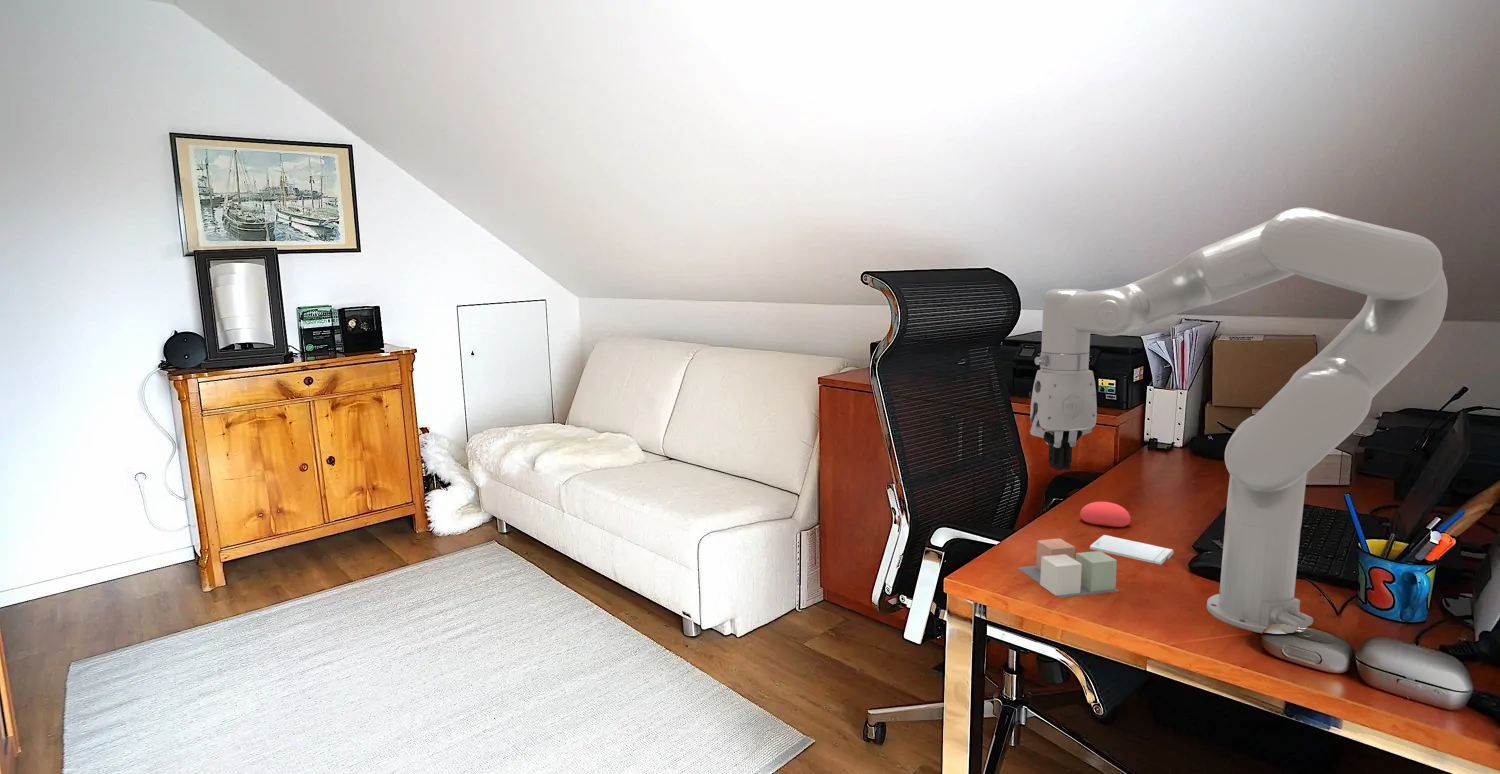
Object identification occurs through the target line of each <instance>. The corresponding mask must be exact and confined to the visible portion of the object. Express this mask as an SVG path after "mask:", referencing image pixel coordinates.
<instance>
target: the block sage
mask: <svg viewBox="0 0 1500 774" xmlns="http://www.w3.org/2000/svg"><path fill="white" fill-rule="evenodd" d="M1075 560H1076V561H1078V562H1079V563H1081V564H1082V570H1081V586H1083V587H1084V588H1086V589H1088V590H1089V591H1091V592H1094V591H1103V590H1112V589H1115V588H1116V586H1117V585H1116V583H1117V569H1118V568H1117V566H1118V560H1117V559H1115V558H1113V557H1111V556H1110V555H1108V554H1106V552H1101V551H1097V550H1092V551H1086V552H1075Z"/></svg>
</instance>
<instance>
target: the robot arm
mask: <svg viewBox="0 0 1500 774" xmlns="http://www.w3.org/2000/svg"><path fill="white" fill-rule="evenodd" d="M1443 265H1444V264H1443V256H1442V254H1441V251H1440V250H1439V248H1438V246H1437V245H1436V244H1434V242H1433V241H1431V240H1430V239H1428V238H1426V237H1425V236H1422V235H1420V234H1418V233H1417V234H1416V233H1412V232H1409V231H1405V230H1402V229H1401V230H1400V229H1396V228H1391V227H1386V226H1382V225H1378V224H1374V223H1369V222H1365V221H1362V220H1357V219H1354V218H1349V217H1345V216H1341V215H1338V214H1334V213H1330V212H1326V211H1324V210H1323V211H1322V210H1319V209H1317V208H1313V207H1307V206H1306V207H1305V206H1304V207H1301V206H1299V207H1295V208H1294V207H1293V208H1290V209H1286V210H1283V211H1282V212H1280V213H1278V214H1275V216H1274V217H1273V218H1270V219H1269V220H1267V221H1265V222H1262V223H1260V224H1256V225H1255V226H1253V227H1251V228H1248V229H1245V230H1243V231H1241V232H1239V233H1236V234H1233V235H1231V236H1227V237H1226V238H1223V239H1221V240H1218V241H1216V242H1214V243H1211V244H1207V245H1205V246H1203V247H1201V248H1198V249H1196V250H1194V251H1192V252H1191V253H1189V254H1188V255H1187V256H1185V257H1184V258H1183V259H1182V260H1180V261H1179V262H1177V263H1175V264H1173V265H1172V266H1171V265H1170V266H1169V267H1168V268H1165V269H1163V270H1160V271H1159V272H1155V273H1154V274H1151V275H1148V276H1145V277H1144V278H1141V279H1139V280H1136V281H1134V282H1131V283H1128V284H1126V285H1123V286H1117V287H1112V288H1107V289H1105V288H1104V289H1100V290H1091V291H1090V290H1087V289H1082V288H1053V289H1051V290H1050V289H1049V290H1048V291H1047V292H1046V293H1045V294H1044V296H1043V300H1042V301H1043V303H1042V306H1043V307H1042V325H1041V327H1042V329H1041V352H1040V355H1039V356H1036V357H1035V358H1034V364H1035V365H1036V366H1039V368H1040V369H1038V370H1037V371H1036V374H1035V379H1034V383H1033V388H1032V394H1031V400H1030V410H1029V411H1030V414H1029V415H1030V417H1029V418H1030V424H1031V427H1030V430H1029V433H1030V435H1031V436H1035V437H1038V438H1042V439H1043V440H1044V441H1045V444H1047V445H1048V465H1049V467H1050V468H1052V469H1054V470H1056V471H1059V472H1060V471H1062V470H1066V471H1070V470H1071V464H1072V454H1073V447H1074V448H1075V446H1076V444H1077V441H1078V440H1079V439H1080V438H1081V437H1082V436H1085V435H1087V434H1090V433H1092V431H1093V428H1094V427H1095V426H1096V423H1097V415H1098V413H1097V408H1098V407H1097V406H1098V405H1097V389H1096V380H1095V376H1094V371H1093V370H1090V369H1089V366H1090V365H1089V361H1090V346H1091V343H1090V342H1091V334H1094V335H1100V336H1106V337H1114V336H1115V337H1117V336H1120V335H1123V334H1126V333H1128V332H1132V331H1135V330H1137V329H1138V330H1139V329H1140V328H1142V327H1146V326H1148V325H1150V324H1153V323H1156V322H1159V321H1161V320H1164V319H1167V318H1169V317H1172V316H1175V315H1177V314H1180V313H1184V312H1186V311H1190V310H1193V309H1195V308H1199V307H1204V306H1210V305H1214V304H1216V303H1217V304H1218V303H1219V302H1223V301H1226V300H1228V299H1231V298H1233V297H1236V296H1239V295H1241V294H1245V293H1246V292H1250V291H1253V290H1255V289H1259V288H1261V287H1264V286H1266V285H1269V284H1272V283H1274V282H1278V281H1281V280H1283V279H1286V278H1289V277H1291V276H1294V275H1297V276H1300V277H1304V278H1307V279H1310V280H1313V281H1317V282H1320V283H1324V284H1327V285H1332V286H1335V287H1338V288H1340V289H1341V288H1342V289H1346V290H1349V291H1353V292H1356V293H1359V294H1363V295H1366V296H1367V298H1366V300H1365V302H1364V305H1363V307H1362V308H1361V310H1360V311H1359V313H1358V314H1357V315H1356V316H1355V317H1354V318H1352V320H1350V322H1349V323H1348V324H1347V325H1346V326H1345V327H1344V328H1343V329H1342V330H1341V331H1340V333H1339V334H1338V335H1337V336H1336V337H1334V338H1333V339H1332V341H1330V343H1328V345H1327V344H1326V346H1325V347H1324V348H1323V349H1322V350H1321V351H1320V352H1319V353H1318V354H1317V355H1315V356H1314V357H1313V358H1312V359H1311V360H1310V361H1309V362H1307V363H1306V364H1304V365H1303V366H1301V367H1300V368H1299V369H1297V370H1296V371H1295V372H1294V373H1293V374H1292V376H1291V377H1290V379H1289V381H1288V382H1286V384H1285V385H1284V386H1283V387H1282V388H1281V389H1280V390H1279V391H1277V393H1276V394H1275V395H1274V396H1273V397H1272V398H1270V400H1269V401H1268V402H1267V403H1266V404H1265V405H1264V406H1263V407H1262V408H1261V409H1260V410H1258V411H1257V412H1256V413H1255V414H1254V415H1252V416H1249V417H1248V418H1246V419H1245V420H1244V421H1243V420H1242V422H1241V423H1240V424H1239V425H1238V426H1237V428H1236V429H1235V430H1234V432H1233V433H1232V435H1231V436H1230V438H1229V440H1228V441H1227V444H1226V446H1225V450H1224V462H1225V463H1224V464H1225V466H1226V470H1227V471H1228V473H1229V481H1228V490H1227V501H1226V511H1225V519H1224V520H1225V524H1224V533H1223V534H1224V535H1223V545H1222V547H1223V548H1222V559H1221V570H1220V571H1221V572H1220V583H1219V593H1216V594H1213V595H1212V596H1210V597H1208V599H1207V600H1206V601H1207V602H1206V609H1207V611H1208V613H1210V615H1212V616H1213V617H1215V618H1216V619H1218V620H1219V621H1222V622H1224V623H1226V624H1228V625H1230V626H1233V627H1236V628H1240V629H1243V630H1247V631H1252V632H1251V633H1259V634H1263V633H1262V632H1263V631H1264V629H1266V628H1267V627H1268V626H1269V625H1271V624H1286V625H1291V626H1295V627H1297V628H1298V627H1300V628H1307V629H1308V627H1309V626H1311V625H1312V624H1313V623H1314V618H1313V617H1312V616H1310V615H1308V614H1306V613H1303V612H1301V611H1300V605H1301V599H1298V598H1296V597H1295V589H1296V581H1297V580H1296V579H1297V570H1298V569H1297V568H1298V561H1299V560H1298V559H1299V552H1300V551H1299V550H1300V549H1299V547H1300V539H1301V531H1302V530H1301V529H1302V523H1303V522H1302V521H1303V513H1304V502H1305V494H1306V493H1305V492H1306V484H1307V477H1308V472H1309V471H1311V470H1312V469H1314V467H1315V466H1316V465H1318V464H1319V463H1320V462H1321V461H1322V460H1323V459H1324V458H1325V457H1327V456H1328V455H1329V454H1330V453H1332V451H1333V450H1335V449H1336V448H1337V447H1338V446H1339V445H1341V443H1342V442H1344V441H1345V440H1346V439H1347V438H1348V437H1349V436H1351V434H1352V433H1353V432H1354V431H1355V430H1356V429H1357V428H1358V427H1359V426H1360V425H1361V424H1362V423H1363V421H1365V419H1366V418H1367V416H1368V414H1369V412H1370V409H1371V406H1372V402H1373V401H1372V400H1373V398H1375V396H1377V394H1379V392H1380V391H1381V390H1382V389H1383V388H1384V387H1385V386H1386V385H1387V384H1389V383H1390V382H1391V381H1392V380H1393V379H1394V378H1395V377H1396V376H1397V375H1398V374H1399V373H1400V372H1401V371H1402V370H1403V369H1404V368H1405V367H1406V366H1407V365H1408V364H1409V363H1410V362H1411V361H1412V360H1413V359H1414V358H1415V357H1416V356H1418V355H1419V353H1420V352H1422V350H1423V349H1424V348H1425V347H1426V346H1427V344H1428V343H1430V341H1431V340H1432V339H1433V337H1434V336H1435V335H1436V333H1437V331H1438V329H1439V328H1440V326H1441V325H1442V322H1443V319H1444V317H1445V314H1446V311H1447V310H1446V309H1447V305H1448V304H1447V303H1448V297H1449V296H1448V295H1449V294H1448V291H1449V290H1448V281H1447V278H1446V276H1445V272H1444V269H1443Z"/></svg>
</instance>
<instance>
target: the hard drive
mask: <svg viewBox="0 0 1500 774" xmlns="http://www.w3.org/2000/svg"><path fill="white" fill-rule="evenodd" d="M1089 549H1090V550H1092V551H1101V552H1103V553H1105V554H1106V553H1107V554H1111V555H1114V556H1115V555H1116V556H1120V557H1124V558H1129V559H1133V560H1138V561H1143V562H1147V563H1152V564H1156V565H1162V564H1163V563H1165V561H1166V560H1167V559H1168V560H1169V559H1170V558H1171V557H1172V556H1173V555H1174V549H1172V548H1167V547H1162V546H1158V545H1154V544H1149V543H1145V542H1139V541H1134V540H1129V539H1125V538H1121V537H1115V536H1111V535H1107V534H1103V535H1102V536H1100V537H1099V538H1098V539H1097V540H1095V541H1093V543H1091V544H1090V546H1089Z"/></svg>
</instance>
